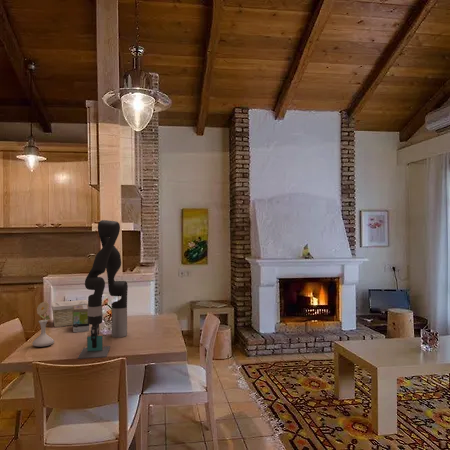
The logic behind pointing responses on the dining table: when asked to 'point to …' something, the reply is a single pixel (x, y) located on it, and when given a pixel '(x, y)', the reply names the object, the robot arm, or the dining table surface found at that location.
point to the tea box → (80, 318)
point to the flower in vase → (43, 327)
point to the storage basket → (65, 312)
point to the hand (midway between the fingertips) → (95, 346)
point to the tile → (99, 343)
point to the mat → (94, 353)
